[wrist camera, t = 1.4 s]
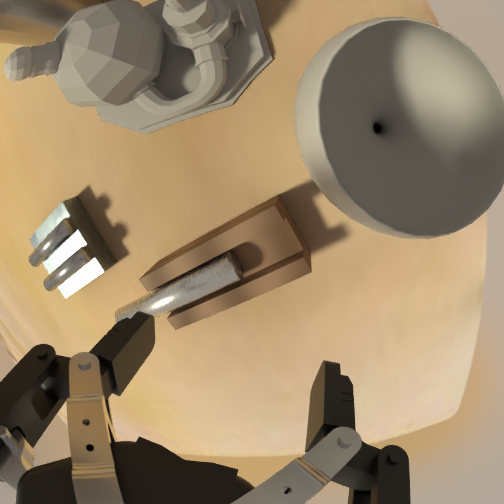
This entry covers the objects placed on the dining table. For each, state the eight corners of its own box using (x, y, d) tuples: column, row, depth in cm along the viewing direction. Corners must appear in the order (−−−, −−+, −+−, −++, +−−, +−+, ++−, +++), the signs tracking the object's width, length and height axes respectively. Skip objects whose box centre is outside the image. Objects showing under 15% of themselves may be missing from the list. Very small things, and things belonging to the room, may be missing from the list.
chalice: (276, 79, 25) (252, 26, 11) (408, 52, 21) (483, 1, 8) (320, 214, 29) (335, 285, 16) (444, 182, 26) (534, 226, 12)
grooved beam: (189, 307, 36) (175, 329, 32) (157, 261, 34) (138, 279, 30) (310, 252, 31) (311, 272, 27) (278, 194, 29) (274, 205, 25)
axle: (136, 323, 34) (124, 334, 32) (123, 304, 34) (111, 314, 31) (246, 272, 30) (239, 284, 27) (231, 248, 29) (223, 257, 26)
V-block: (77, 289, 38) (57, 305, 34) (42, 232, 36) (19, 244, 31) (116, 261, 35) (94, 279, 31) (77, 195, 33) (51, 205, 28)
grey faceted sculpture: (108, 149, 30) (3, 171, 16) (88, 39, 25) (-6, 17, 11) (282, 95, 26) (262, 53, 12) (246, -27, 21) (205, -113, 7)
